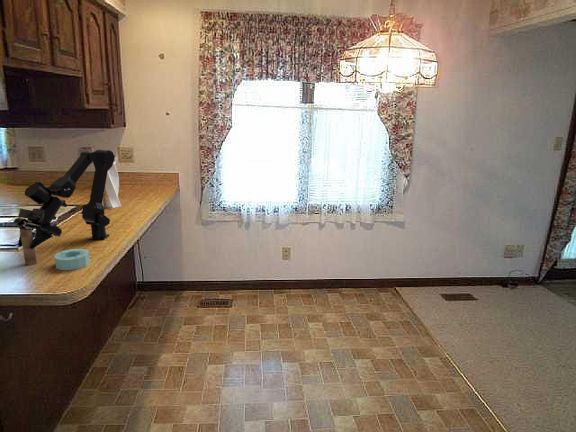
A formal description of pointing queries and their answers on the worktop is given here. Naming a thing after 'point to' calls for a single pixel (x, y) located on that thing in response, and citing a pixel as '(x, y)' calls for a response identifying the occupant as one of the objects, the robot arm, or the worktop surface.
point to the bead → (72, 259)
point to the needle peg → (26, 242)
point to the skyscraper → (112, 188)
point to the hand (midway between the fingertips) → (24, 247)
